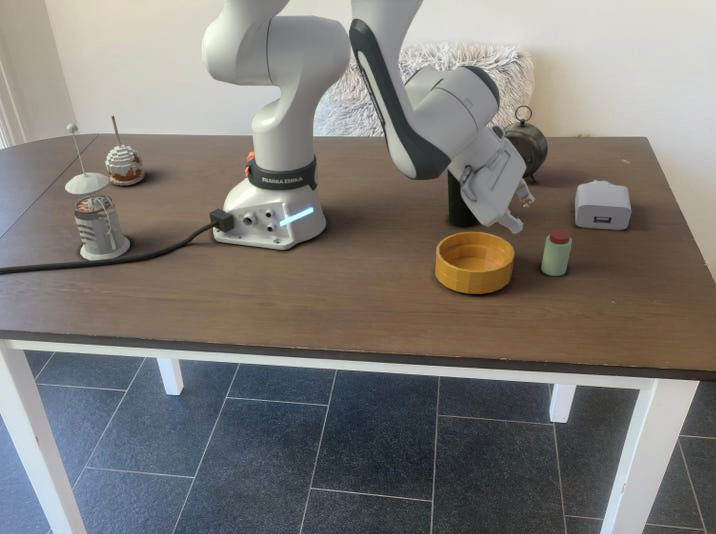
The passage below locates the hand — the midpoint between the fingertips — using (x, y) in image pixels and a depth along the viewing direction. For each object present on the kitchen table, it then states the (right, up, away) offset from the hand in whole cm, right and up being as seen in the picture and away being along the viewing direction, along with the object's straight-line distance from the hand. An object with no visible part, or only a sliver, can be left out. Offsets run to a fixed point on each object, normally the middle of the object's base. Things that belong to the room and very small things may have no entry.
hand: (525, 217), depth 121 cm
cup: (-6, +3, +20) cm, 21 cm away
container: (+6, -8, +5) cm, 11 cm away
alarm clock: (+7, +14, +31) cm, 34 cm away
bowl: (-8, -9, +5) cm, 13 cm away
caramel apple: (-78, +17, +43) cm, 91 cm away
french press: (-76, -2, +20) cm, 79 cm away
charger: (+20, +5, +19) cm, 29 cm away
